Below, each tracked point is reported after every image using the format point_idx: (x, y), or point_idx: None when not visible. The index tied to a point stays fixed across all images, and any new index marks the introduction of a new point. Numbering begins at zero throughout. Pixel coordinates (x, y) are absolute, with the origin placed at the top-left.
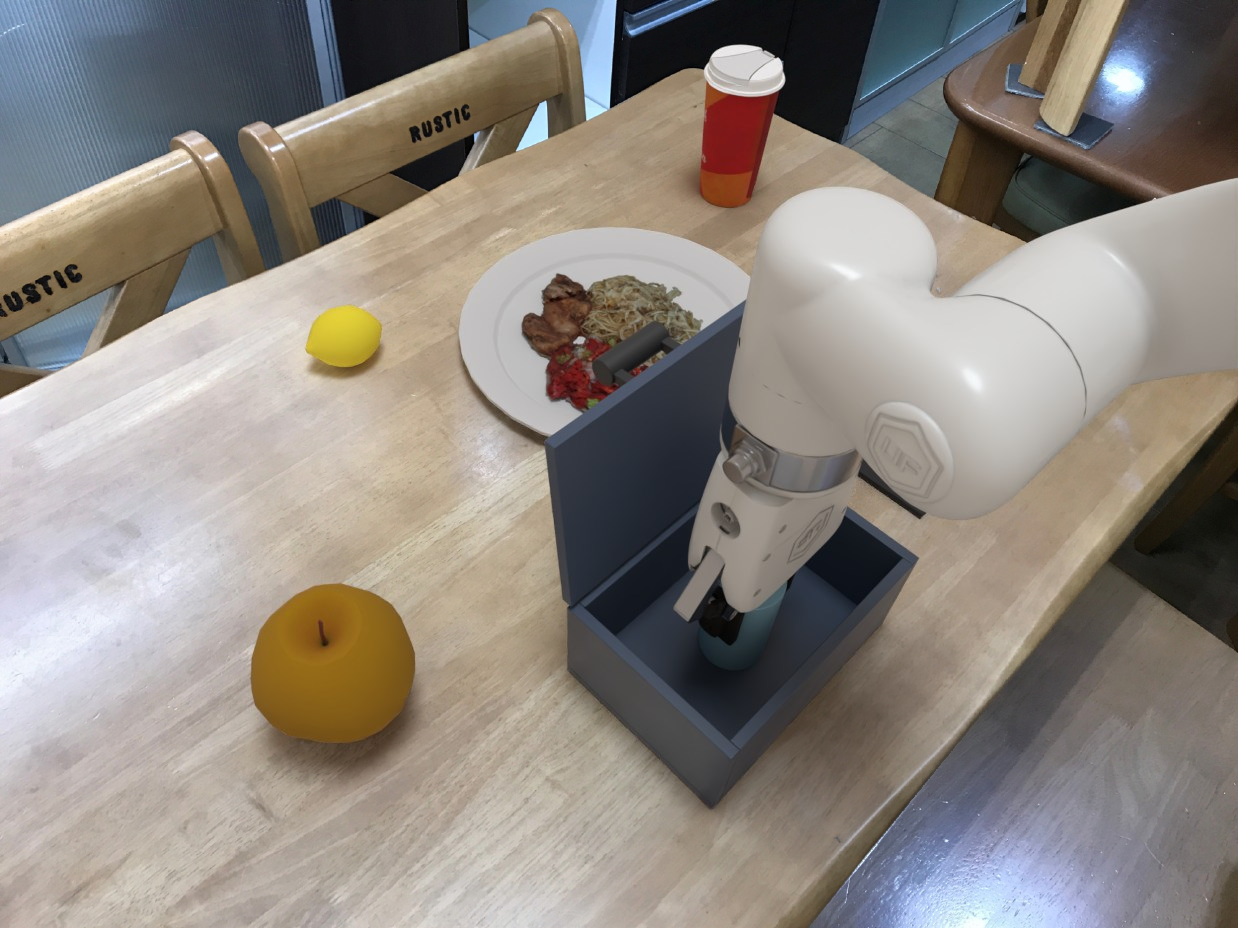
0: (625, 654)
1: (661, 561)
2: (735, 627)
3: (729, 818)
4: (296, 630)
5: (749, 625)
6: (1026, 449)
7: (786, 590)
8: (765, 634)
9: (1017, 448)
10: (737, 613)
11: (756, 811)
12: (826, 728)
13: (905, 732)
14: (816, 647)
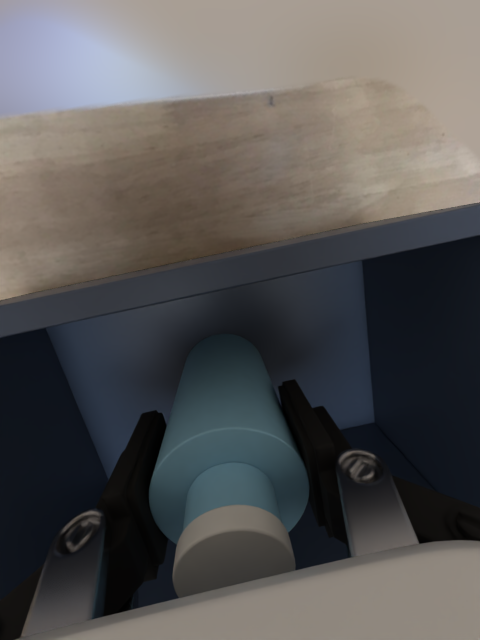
0: None
1: None
2: (316, 415)
3: (356, 203)
4: None
5: (263, 397)
6: None
7: (150, 414)
8: (219, 364)
9: None
10: (330, 453)
11: (327, 191)
12: (190, 222)
13: (99, 155)
14: (136, 311)
